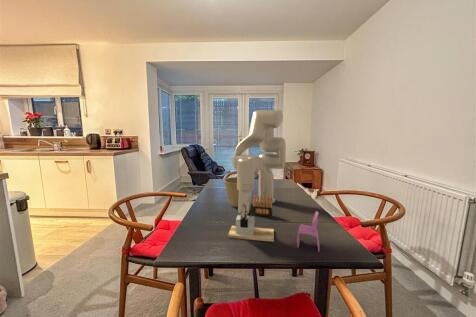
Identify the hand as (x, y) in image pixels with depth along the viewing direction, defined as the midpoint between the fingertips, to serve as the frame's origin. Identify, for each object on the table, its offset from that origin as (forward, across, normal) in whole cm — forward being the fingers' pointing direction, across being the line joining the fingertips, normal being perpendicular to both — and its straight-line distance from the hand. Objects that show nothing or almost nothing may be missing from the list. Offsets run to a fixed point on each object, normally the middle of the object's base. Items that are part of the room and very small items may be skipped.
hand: (245, 222), depth 95 cm
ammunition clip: (+6, -21, +7) cm, 23 cm away
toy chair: (+6, +6, +27) cm, 28 cm away
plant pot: (+6, -34, -10) cm, 36 cm away
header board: (+6, +1, +3) cm, 6 cm away
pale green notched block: (+4, 0, 0) cm, 4 cm away
